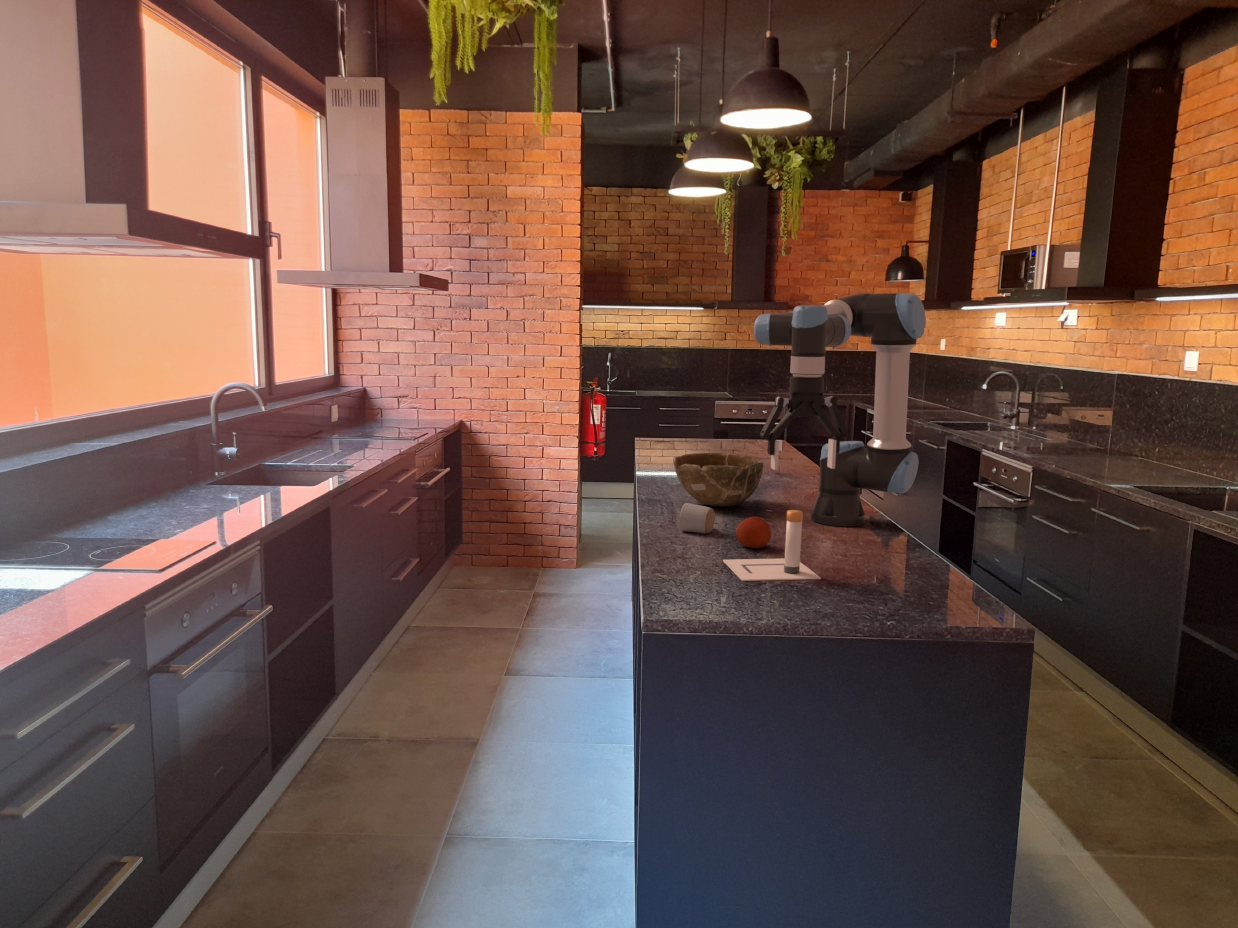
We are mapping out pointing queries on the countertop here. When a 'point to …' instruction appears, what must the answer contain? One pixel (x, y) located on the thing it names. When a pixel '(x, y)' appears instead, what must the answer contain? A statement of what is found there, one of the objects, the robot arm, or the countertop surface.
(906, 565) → the countertop surface
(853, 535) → the countertop surface
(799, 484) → the countertop surface
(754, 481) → the bowl
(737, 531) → the fruit
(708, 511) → the ceramic mug
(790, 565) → the marker
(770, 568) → the paper
